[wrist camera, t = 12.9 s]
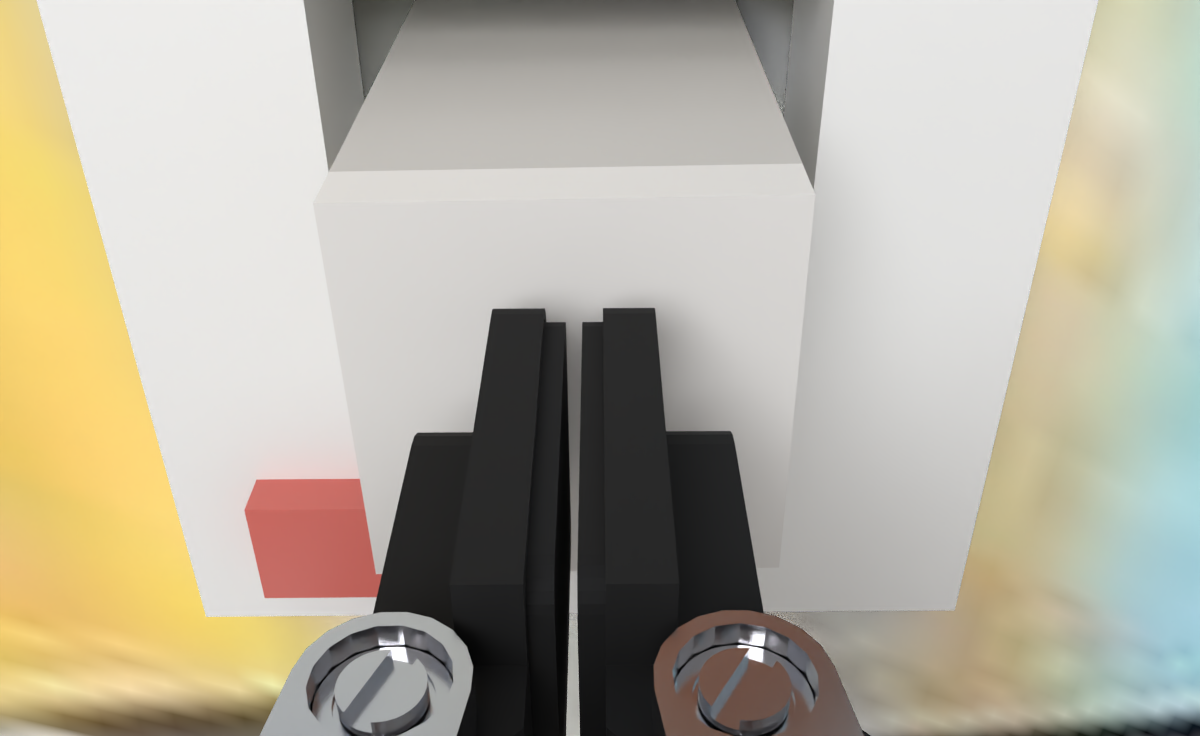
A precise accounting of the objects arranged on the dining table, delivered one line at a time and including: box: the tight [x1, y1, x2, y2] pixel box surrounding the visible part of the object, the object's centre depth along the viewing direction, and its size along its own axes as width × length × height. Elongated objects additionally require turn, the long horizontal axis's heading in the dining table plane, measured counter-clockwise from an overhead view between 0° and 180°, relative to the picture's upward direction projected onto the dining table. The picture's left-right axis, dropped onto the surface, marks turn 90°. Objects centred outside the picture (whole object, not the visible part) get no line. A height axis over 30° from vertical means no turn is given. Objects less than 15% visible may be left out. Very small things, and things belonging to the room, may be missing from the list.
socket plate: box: [37, 0, 1098, 617], centre depth 17 cm, size 16×14×4 cm
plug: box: [313, 0, 815, 574], centre depth 16 cm, size 5×5×8 cm
